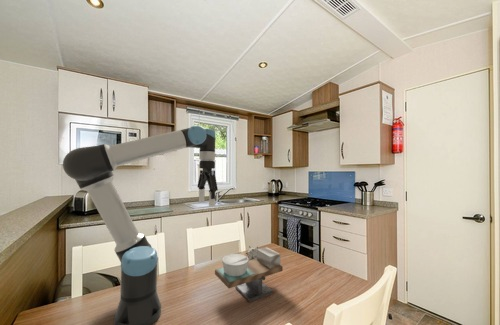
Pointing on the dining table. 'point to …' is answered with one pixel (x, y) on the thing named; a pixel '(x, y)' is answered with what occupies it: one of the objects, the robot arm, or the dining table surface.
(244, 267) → the ramekin
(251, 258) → the grey lumpy piece
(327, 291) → the dining table surface
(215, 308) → the dining table surface
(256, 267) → the beam
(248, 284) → the fulcrum
